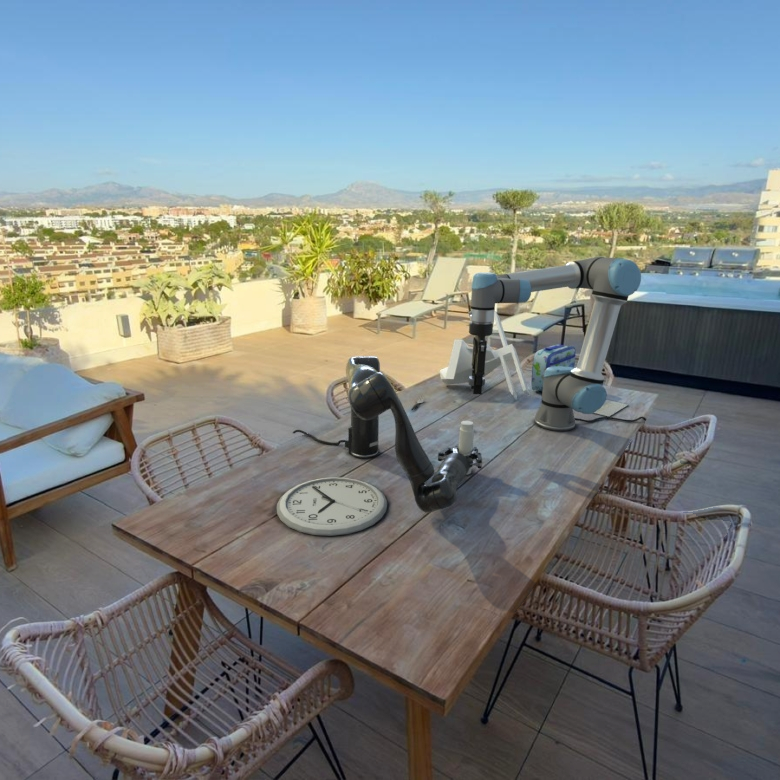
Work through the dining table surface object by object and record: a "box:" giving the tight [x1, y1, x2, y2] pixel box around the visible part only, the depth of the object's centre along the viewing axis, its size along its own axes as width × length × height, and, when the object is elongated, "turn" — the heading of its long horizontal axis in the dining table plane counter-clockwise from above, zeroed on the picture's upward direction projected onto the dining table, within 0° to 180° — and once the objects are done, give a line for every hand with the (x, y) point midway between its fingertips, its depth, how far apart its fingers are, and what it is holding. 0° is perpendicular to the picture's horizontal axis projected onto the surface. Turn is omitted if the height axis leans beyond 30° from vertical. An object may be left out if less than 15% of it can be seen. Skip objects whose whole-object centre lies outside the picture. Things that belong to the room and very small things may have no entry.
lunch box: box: [530, 344, 577, 392], centre depth 247 cm, size 26×11×21 cm, turn 134°
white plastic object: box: [438, 310, 531, 400], centre depth 245 cm, size 37×45×31 cm
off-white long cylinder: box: [458, 420, 475, 476], centre depth 162 cm, size 4×4×16 cm
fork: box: [410, 395, 426, 411], centre depth 223 cm, size 3×16×2 cm, turn 160°
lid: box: [468, 376, 486, 387], centre depth 174 cm, size 5×5×2 cm
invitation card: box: [593, 399, 629, 417], centre depth 226 cm, size 21×1×15 cm
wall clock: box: [276, 476, 388, 537], centre depth 142 cm, size 30×2×30 cm
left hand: (467, 448), depth 164 cm, fingers closed on off-white long cylinder, 4 cm apart
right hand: (476, 391), depth 175 cm, fingers closed on lid, 5 cm apart
